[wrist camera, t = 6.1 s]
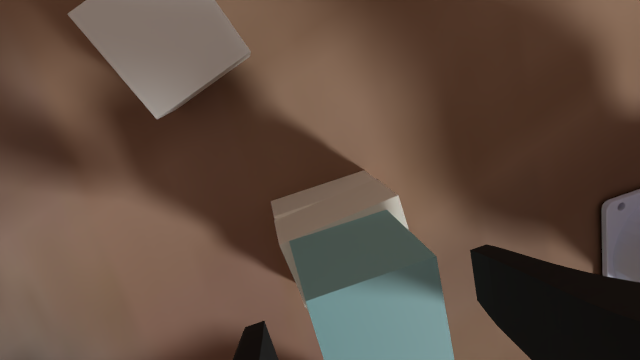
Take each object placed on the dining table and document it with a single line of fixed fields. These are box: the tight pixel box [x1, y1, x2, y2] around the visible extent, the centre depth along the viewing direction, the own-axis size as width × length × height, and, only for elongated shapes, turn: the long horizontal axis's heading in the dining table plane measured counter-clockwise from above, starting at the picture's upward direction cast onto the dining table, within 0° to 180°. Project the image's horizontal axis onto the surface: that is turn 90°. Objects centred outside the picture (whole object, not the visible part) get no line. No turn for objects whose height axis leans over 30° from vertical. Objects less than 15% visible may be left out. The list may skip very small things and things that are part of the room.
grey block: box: [68, 0, 251, 119], centre depth 14 cm, size 4×4×4 cm
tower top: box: [274, 179, 409, 312], centre depth 16 cm, size 5×5×2 cm
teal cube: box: [289, 210, 454, 360], centre depth 13 cm, size 4×4×4 cm
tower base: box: [271, 170, 375, 308], centre depth 19 cm, size 5×5×2 cm
